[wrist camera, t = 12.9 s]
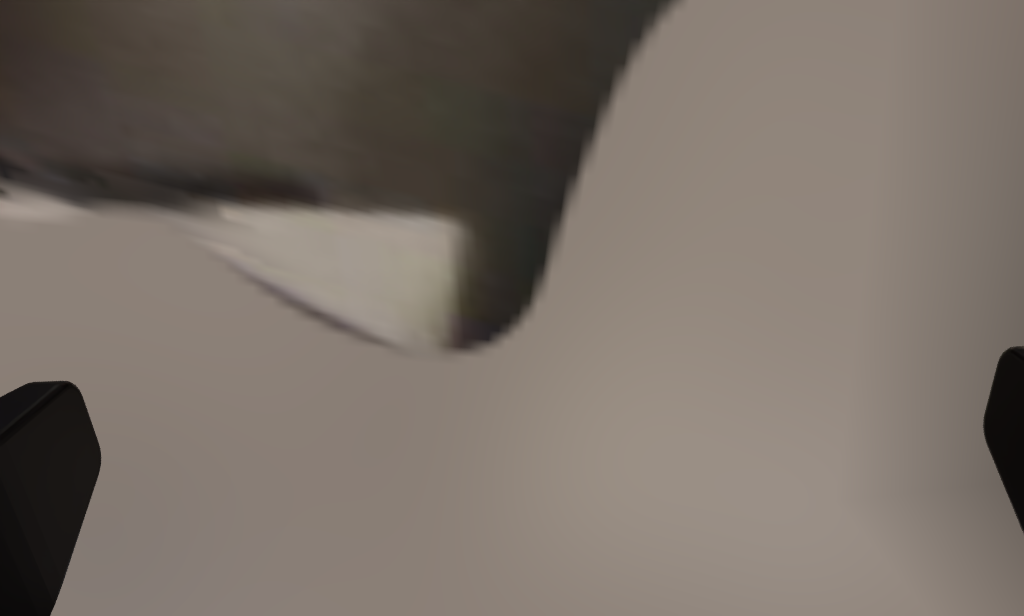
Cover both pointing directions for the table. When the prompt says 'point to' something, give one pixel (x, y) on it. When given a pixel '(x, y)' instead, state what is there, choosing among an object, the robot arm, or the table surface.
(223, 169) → the table surface
